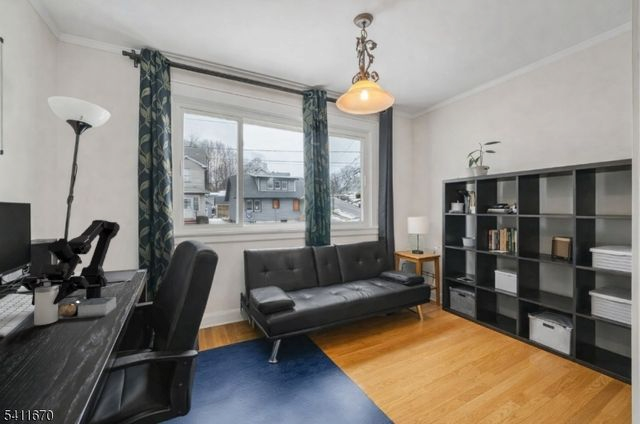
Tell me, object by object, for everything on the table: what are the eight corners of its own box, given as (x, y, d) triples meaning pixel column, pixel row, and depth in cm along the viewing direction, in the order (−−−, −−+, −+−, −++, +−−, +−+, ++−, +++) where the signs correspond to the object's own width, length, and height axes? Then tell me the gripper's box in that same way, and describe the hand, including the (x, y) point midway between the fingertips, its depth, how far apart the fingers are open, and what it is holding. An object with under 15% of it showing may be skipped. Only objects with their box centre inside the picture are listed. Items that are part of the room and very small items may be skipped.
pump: (41, 319, 99) (42, 280, 99) (61, 317, 101) (62, 280, 101) (29, 325, 93) (30, 285, 93) (51, 324, 95) (52, 284, 95)
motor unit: (71, 310, 111) (72, 296, 111) (116, 307, 116) (116, 294, 116) (56, 319, 102) (57, 304, 102) (105, 315, 107) (106, 301, 107)
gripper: (25, 255, 99) (-4, 294, 88) (85, 254, 103) (64, 292, 92) (41, 272, 106) (16, 310, 96) (96, 270, 111) (78, 307, 100)
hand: (43, 304), depth 96 cm, fingers closed on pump, 6 cm apart
